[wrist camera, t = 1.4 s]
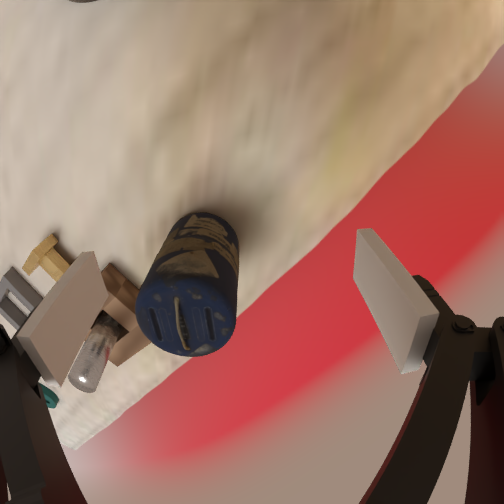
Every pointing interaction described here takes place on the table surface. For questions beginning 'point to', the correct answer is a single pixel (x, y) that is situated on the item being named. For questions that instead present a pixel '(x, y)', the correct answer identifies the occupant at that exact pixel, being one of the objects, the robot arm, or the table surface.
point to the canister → (192, 288)
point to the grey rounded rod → (95, 354)
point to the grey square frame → (21, 292)
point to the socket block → (122, 315)
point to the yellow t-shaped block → (46, 259)
